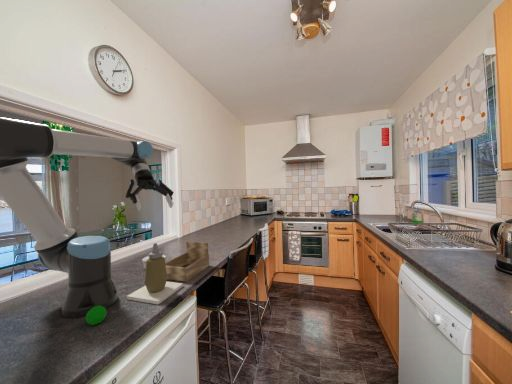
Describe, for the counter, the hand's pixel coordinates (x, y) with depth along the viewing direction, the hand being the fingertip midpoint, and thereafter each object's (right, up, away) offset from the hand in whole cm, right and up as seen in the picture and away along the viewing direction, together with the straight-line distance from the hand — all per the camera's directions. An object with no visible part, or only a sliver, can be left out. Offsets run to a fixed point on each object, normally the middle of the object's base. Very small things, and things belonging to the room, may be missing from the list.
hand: (156, 207), depth 90 cm
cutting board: (+5, -33, -10) cm, 34 cm away
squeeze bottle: (+5, -32, -10) cm, 34 cm away
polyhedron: (-5, -33, -28) cm, 44 cm away
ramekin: (-9, -33, +17) cm, 38 cm away
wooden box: (+10, -32, +11) cm, 35 cm away
